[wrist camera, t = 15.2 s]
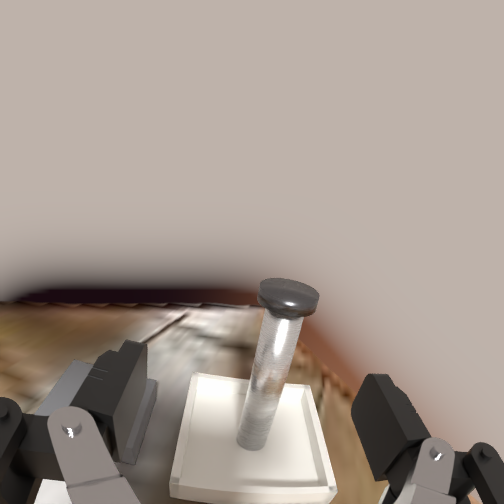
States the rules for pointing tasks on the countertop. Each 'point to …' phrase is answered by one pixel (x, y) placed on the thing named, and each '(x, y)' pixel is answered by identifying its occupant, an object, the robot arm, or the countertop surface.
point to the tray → (244, 461)
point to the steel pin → (273, 355)
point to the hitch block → (71, 384)
